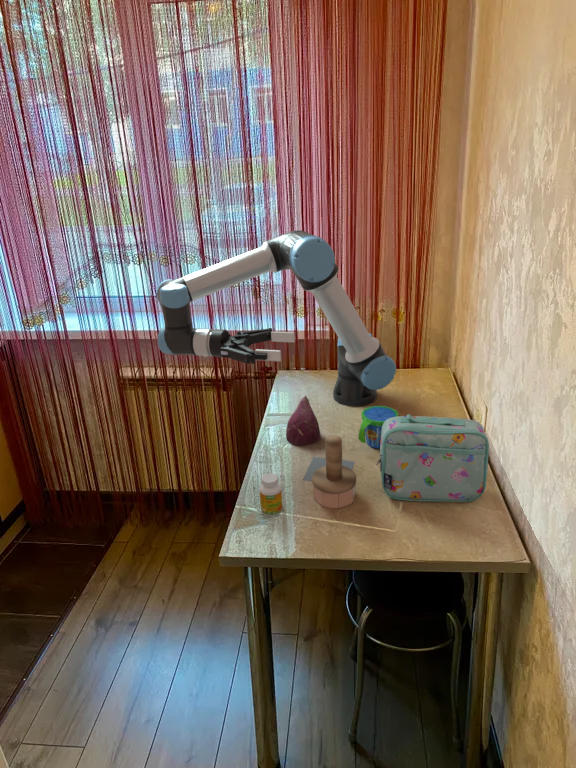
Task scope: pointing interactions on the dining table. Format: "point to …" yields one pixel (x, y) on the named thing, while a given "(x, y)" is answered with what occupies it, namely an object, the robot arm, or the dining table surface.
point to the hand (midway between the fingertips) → (287, 346)
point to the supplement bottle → (270, 495)
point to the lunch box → (433, 458)
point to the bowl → (335, 498)
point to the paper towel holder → (334, 470)
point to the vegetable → (303, 425)
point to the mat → (321, 462)
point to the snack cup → (374, 424)
